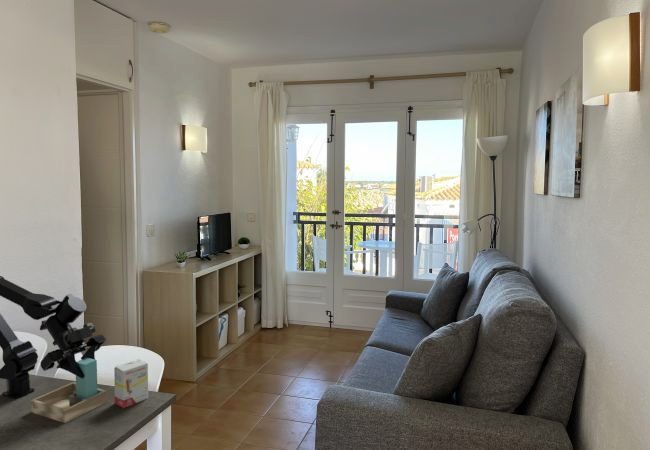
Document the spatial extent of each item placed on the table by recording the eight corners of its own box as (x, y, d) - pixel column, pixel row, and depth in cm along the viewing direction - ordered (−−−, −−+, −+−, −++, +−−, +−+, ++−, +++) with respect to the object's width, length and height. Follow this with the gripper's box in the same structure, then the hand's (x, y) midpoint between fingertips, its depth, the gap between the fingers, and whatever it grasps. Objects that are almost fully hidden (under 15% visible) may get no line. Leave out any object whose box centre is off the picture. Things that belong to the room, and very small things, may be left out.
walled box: (31, 413, 142) (30, 400, 141) (74, 394, 154) (73, 381, 154) (65, 424, 136) (64, 410, 135) (106, 403, 149) (106, 390, 148)
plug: (76, 396, 145) (75, 362, 144) (87, 391, 149) (86, 357, 148) (86, 399, 144) (85, 364, 142) (97, 394, 147) (96, 359, 146)
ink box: (123, 409, 145) (122, 371, 144) (114, 404, 148) (113, 366, 147) (149, 399, 152) (148, 362, 150) (140, 395, 155) (139, 358, 153)
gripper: (45, 325, 137) (75, 371, 133) (101, 308, 154) (128, 349, 150) (28, 348, 141) (56, 393, 138) (83, 329, 158) (110, 369, 154)
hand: (89, 374), depth 145 cm, fingers closed on plug, 4 cm apart
